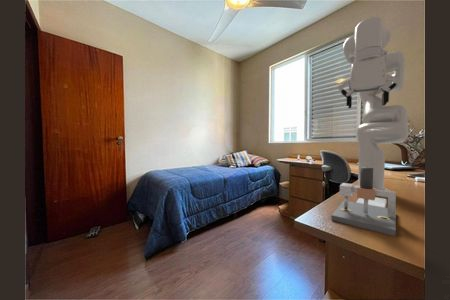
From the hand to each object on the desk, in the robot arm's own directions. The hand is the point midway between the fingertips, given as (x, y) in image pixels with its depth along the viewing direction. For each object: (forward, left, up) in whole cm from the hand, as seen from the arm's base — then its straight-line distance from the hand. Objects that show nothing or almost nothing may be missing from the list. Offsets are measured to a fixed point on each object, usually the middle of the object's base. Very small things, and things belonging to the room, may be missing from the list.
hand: (366, 106), depth 64 cm
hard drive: (-5, +2, -37) cm, 37 cm away
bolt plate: (+12, +1, -36) cm, 38 cm away
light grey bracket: (+13, +2, -34) cm, 37 cm away
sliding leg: (+14, +2, -34) cm, 37 cm away
